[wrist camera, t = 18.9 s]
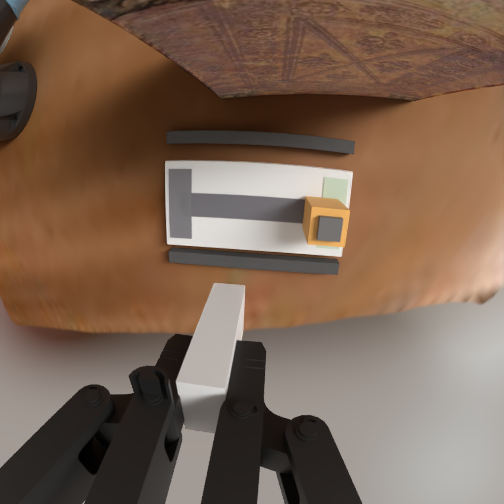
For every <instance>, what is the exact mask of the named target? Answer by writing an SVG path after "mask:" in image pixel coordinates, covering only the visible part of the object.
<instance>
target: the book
mask: <svg viewBox="0 0 504 504" xmlns="http://www.w3.org/2000/svg"><path fill="white" fill-rule="evenodd" d="M72 1H74V2H76V3H78V4H80V5H81V6H83V7H85V8H87V9H89V10H91V11H93V12H95V13H96V14H98V15H100V16H102V17H103V18H105V19H107V20H109V21H110V22H112V23H114V24H116V25H117V26H119V27H121V28H122V29H124V30H125V31H127V32H129V33H130V34H132V35H133V36H135V37H137V38H138V39H140V40H141V41H143V42H144V43H146V44H147V45H149V46H150V47H152V48H153V49H155V50H156V51H158V52H159V53H161V54H162V55H164V56H165V57H167V58H168V59H170V60H171V61H172V62H174V63H175V64H177V65H178V66H179V67H181V68H182V69H184V70H185V71H186V72H188V73H189V74H190V75H192V76H193V77H194V78H196V79H197V80H198V81H200V82H201V83H202V84H204V85H205V86H206V87H208V88H209V89H210V90H211V91H213V92H214V93H215V94H216V95H218V96H219V97H220V98H222V99H229V98H239V97H251V96H265V95H287V94H333V95H355V96H369V97H380V98H390V99H398V100H406V101H416V100H421V99H425V98H430V97H435V96H439V95H444V94H450V93H455V92H461V91H466V90H473V89H479V88H486V87H493V86H501V85H504V0H72Z"/></svg>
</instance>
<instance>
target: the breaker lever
mask: <svg viewBox="0 0 504 504" xmlns="http://www.w3.org/2000/svg"><path fill="white" fill-rule="evenodd" d="M349 215H350V210H349V209H348V208H347V207H346V206H345V205H344V204H343V203H341V202H340V201H339V200H338V199H332V198H322V197H311V196H305V206H304V216H303V226H302V229H303V232H304V235H305V238H306V241H307V244H308V245H320V246H333V247H345V242H346V235H347V229H348V222H349Z"/></svg>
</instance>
